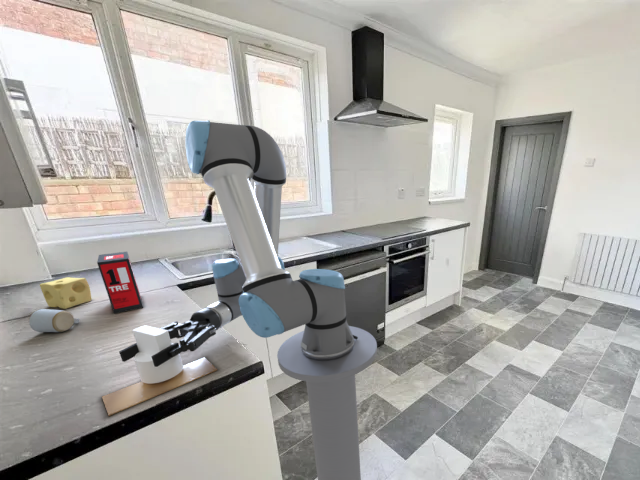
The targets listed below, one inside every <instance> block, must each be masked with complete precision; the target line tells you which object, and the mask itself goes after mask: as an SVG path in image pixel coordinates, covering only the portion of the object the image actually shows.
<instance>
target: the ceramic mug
mask: <svg viewBox="0 0 640 480" xmlns="http://www.w3.org/2000/svg"><path fill="white" fill-rule="evenodd" d="M28 323H29V326H30V328H31V329H32V330H33V331H34V332H37V333H62V332H66V331H68V330H70V329H71V328H72V327H73V326H74V324H80V318H75V317H74V315H73V314H72V313H71V312H69V311H67V310H64V309H48V308H41V309H37V310H35V311H34V312H32V313H31V315H30V316H29V320H28Z"/></svg>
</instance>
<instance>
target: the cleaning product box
mask: <svg viewBox="0 0 640 480" xmlns="http://www.w3.org/2000/svg"><path fill="white" fill-rule="evenodd" d="M96 263H97V267H98V270H99V273H100V276H101V279H102V282H103V285H104V287H105V291H106V293H107V297H108V299H109V302H110V305H111V309H112V311H113V314H118V313H123V312H128V311H134V310H138V309H142V308H144V305H143V301H142V296H141V293H140V290H139V285H138V282H137V279H136V276H135V273H134V270H133V266H132V263H131V259H130V256H129V253H128V251H121V252H120V251H119V252H112V253H103V254H98V257H97V261H96Z"/></svg>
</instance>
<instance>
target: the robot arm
mask: <svg viewBox="0 0 640 480" xmlns="http://www.w3.org/2000/svg"><path fill="white" fill-rule="evenodd" d="M185 153H186V160H187V165H188V168H189V170H190V172H191V173H193V174H196V175H201V177H202V180H203V182H204V183H205V185H207V186H208V187H210V188H212V189H213V190H214V192H215V196H216V198H217V201H218V204H219V207H220V210H221V213H222V215H223V218H224V221H225V223H226V226H227V229H228V231H229V235H230V237H231V240H232V243H233V245H234V249H235V252H236V255H237V257H238V259H236V258H230V257H229V258H228V257H227V258H221V259H216V260H215V261H213V262H212V265H211V267H212V277H213V280H214V285H215V289H216V292H217V299H218V300H217V301H215V302H213V303H211V304H209V305H207V306H205V307H204V308H202V309H200V310H197V311H195V312H193V313H192V315H191V317H190V319H189V320H187V321H184V322H182V323H179V321H178V320H175V321H173V322H171V323H169V324H167V325H164V326H161V327H159V328H160V329H164V330H168V332H169V336H170V340H174V339H175V338H176V339H179V340H178V341H179V342H174V344H172V345H171V346H169V347H167V348H165V349H164V350H162V351H160V352H158V353H156V354H155V355H153V356H151V357H152V360H153V363H154V366H155V367H158V366H159V365H161V364H163V363H164V362H166V361H168V360H169V359H171V358H172V357H174V356H176V355H178V354H179V353H180V354H182V353H185V352H188V351H190V353H191V352H195V351H196V350H198V349H199V347H201V346H202V345H203V344H204V343H205V342H206V341H208V340H209V339H210V338H211V337H213V336H216V334H217V332H216V331H218V330H219V329H221V328H223V327H224V326H226V325H227V324H229V323H232V322H233V321H234V320H236V319H237V318H239V317H241V316H242V318H243V319H244V322H245V323H246V325H247V327H248V328H249V329H250V330H251V331H252V332H253V333H254V334H255V335H256V336H258V337H260V338H265V339H266V338H271V337H275V336H278V335H282V334H284V333H286V332H289V331H291V330H293V329H297V328H299V327H302V326H304V329H303V331H304V333H303V337H302V342H301V350H302V353H303V355H304V356H305V357H307V358H309V359H312V360H317V361H329V360H335V359H338V358H341V357H344V356H345V355H347V354H349V353H350V352H351V351H352V350H353V348H354V339H358V337H357V336H354V335H352V333H351V330H350V328H349V326H350V325H349V323H348V319H347V304H346V286H345V285H346V284H345V279H344V276H343V274H342V273H341V272H339V271H336V270H333V269H324V268H310V269H304V270H302V271H300V272H299V275H298V278H299V279H295V280H293V278H292V275H291V272H289V271H288V270H286V267H285V263H284V261H283V259H282V257H280V256H279V242H280V240H279V239H280V225H281V209H282V207H281V206H282V193H283V192H282V190H283V186H284V185H286V183H287V166H286V161H285V158H284V155H283V152H282V150H281V148H280V146H279V145H278V143H277V142H276V140H275V139H274V138H273V136H271V135H270V133H268V132H267V131H266V130H264V129H263V128H260V127H258V126H255V125H251V124H249V125H247V124H246V125H245V124H238V123H237V124H236V123H226V122H225V123H224V122H215V121H210V120H208V119H207V120H191V121H190V122H189V123H188V125H187V127H186V131H185ZM251 181H253V182H254V184H253V186H254V187H253V186H252V183H251ZM238 260H239V261H238ZM239 262H240V263H239ZM181 338H182V339H181ZM138 352H139V349H138V346H137V343H136V342H135V343H133V344H131V345H129V346H127V347H125V348H123V349H121V350H119V351H118V353H119V356H120V359H121V361H122V362H123V363H126V362H127V361H129V360H131V359H134V356H135V355H136V354H137V353H138Z"/></svg>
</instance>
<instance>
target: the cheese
mask: <svg viewBox="0 0 640 480" xmlns="http://www.w3.org/2000/svg"><path fill="white" fill-rule="evenodd" d="M39 287H40V290H41V292H42V295H43V298H44V300H45V302H46V304H47V306H48V308H59V309H62V310H66V309H70V308H72V307H74V306H78V305H82V304H85V303H88V302H92V300H93V299H92V291H91V286H90V284H89V282H88V281H87V279H86V277H69V276H68V277H62V278H59V279H55V280H51V281H48V282H47V281H46V282H43V283H40V284H39Z"/></svg>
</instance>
